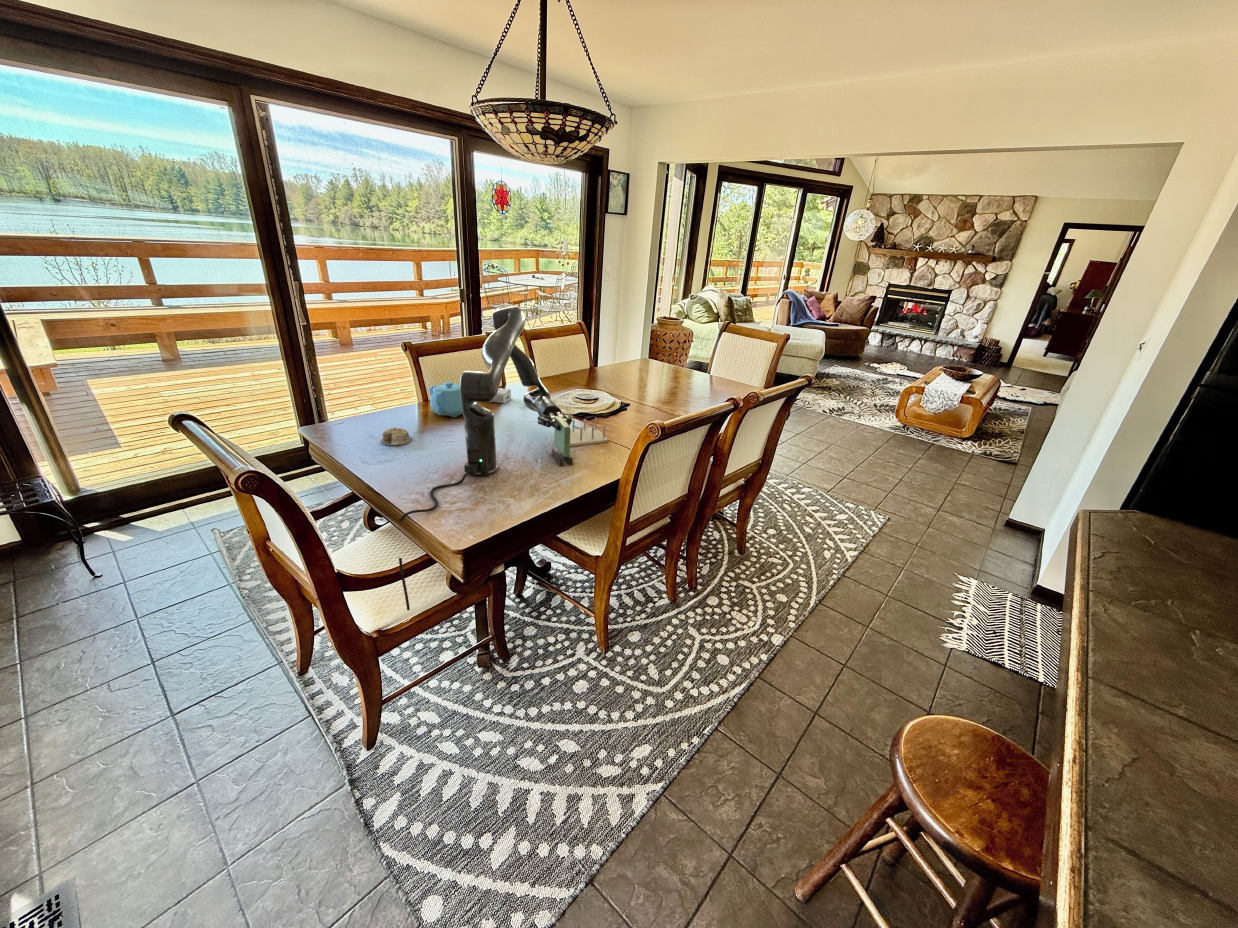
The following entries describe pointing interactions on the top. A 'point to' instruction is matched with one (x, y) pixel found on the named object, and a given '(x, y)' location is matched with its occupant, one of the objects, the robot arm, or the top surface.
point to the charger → (502, 395)
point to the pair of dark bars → (559, 459)
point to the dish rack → (587, 435)
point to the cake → (395, 436)
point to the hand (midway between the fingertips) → (563, 427)
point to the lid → (562, 437)
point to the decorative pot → (446, 399)
